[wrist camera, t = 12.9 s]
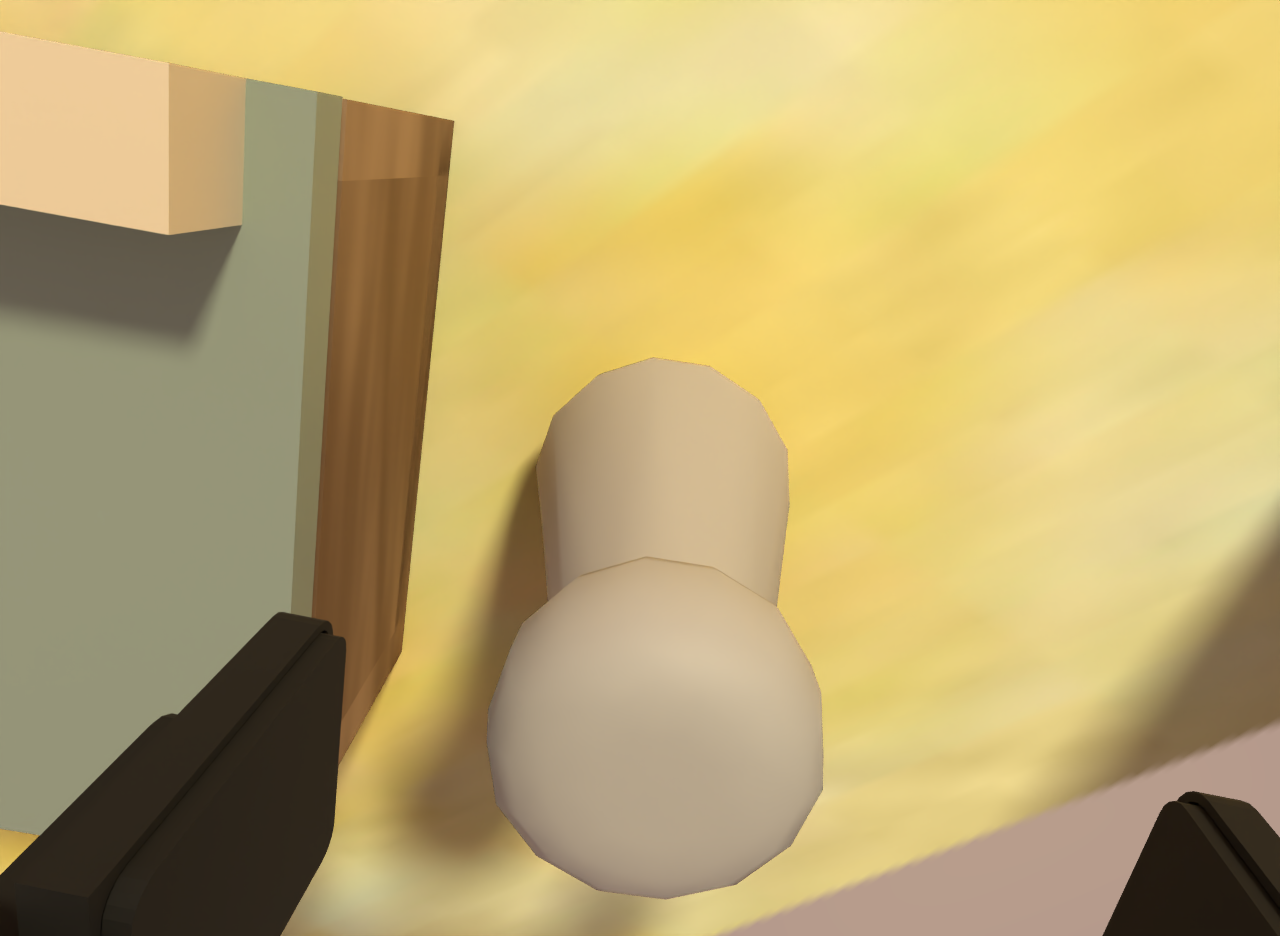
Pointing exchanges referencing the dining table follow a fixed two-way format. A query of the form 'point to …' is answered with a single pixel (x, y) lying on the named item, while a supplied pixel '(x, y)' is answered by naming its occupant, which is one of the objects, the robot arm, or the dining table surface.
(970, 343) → the dining table surface
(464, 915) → the dining table surface
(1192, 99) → the dining table surface
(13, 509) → the lid
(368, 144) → the toolbox
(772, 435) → the salt shaker
